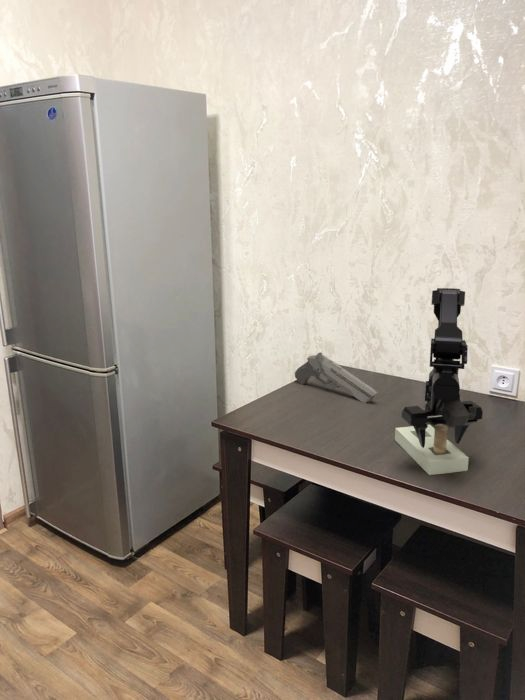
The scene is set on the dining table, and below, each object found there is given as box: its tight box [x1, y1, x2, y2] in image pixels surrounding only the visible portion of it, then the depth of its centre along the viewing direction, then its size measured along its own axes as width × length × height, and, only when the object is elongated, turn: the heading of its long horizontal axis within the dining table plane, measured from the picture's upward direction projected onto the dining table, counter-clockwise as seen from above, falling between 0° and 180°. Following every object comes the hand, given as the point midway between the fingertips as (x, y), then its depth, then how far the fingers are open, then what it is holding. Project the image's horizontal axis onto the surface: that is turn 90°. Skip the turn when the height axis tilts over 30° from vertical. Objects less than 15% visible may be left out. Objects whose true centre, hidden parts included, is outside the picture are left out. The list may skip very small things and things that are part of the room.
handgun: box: [294, 352, 379, 404], centre depth 189 cm, size 31×3×15 cm, turn 47°
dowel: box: [433, 423, 449, 455], centre depth 139 cm, size 3×3×10 cm
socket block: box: [394, 424, 470, 476], centre depth 145 cm, size 20×10×4 cm, turn 11°
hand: (439, 445), depth 139 cm, fingers open, 9 cm apart
